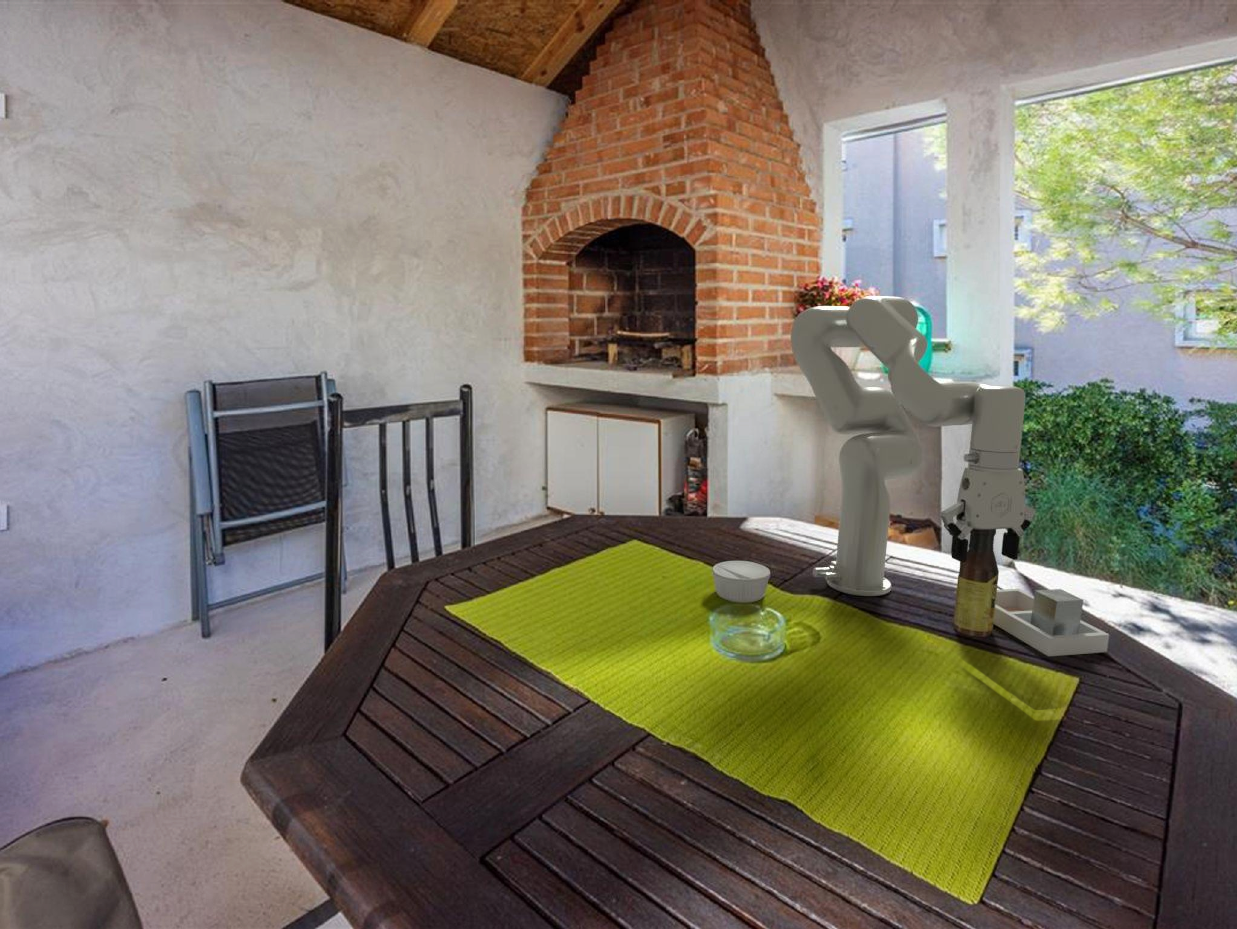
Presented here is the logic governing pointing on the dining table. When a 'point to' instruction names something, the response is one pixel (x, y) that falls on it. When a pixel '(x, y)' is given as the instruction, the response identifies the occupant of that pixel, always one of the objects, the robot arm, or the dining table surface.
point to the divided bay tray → (1016, 620)
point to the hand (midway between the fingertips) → (984, 558)
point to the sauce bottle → (977, 586)
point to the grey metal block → (1056, 612)
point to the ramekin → (740, 580)
